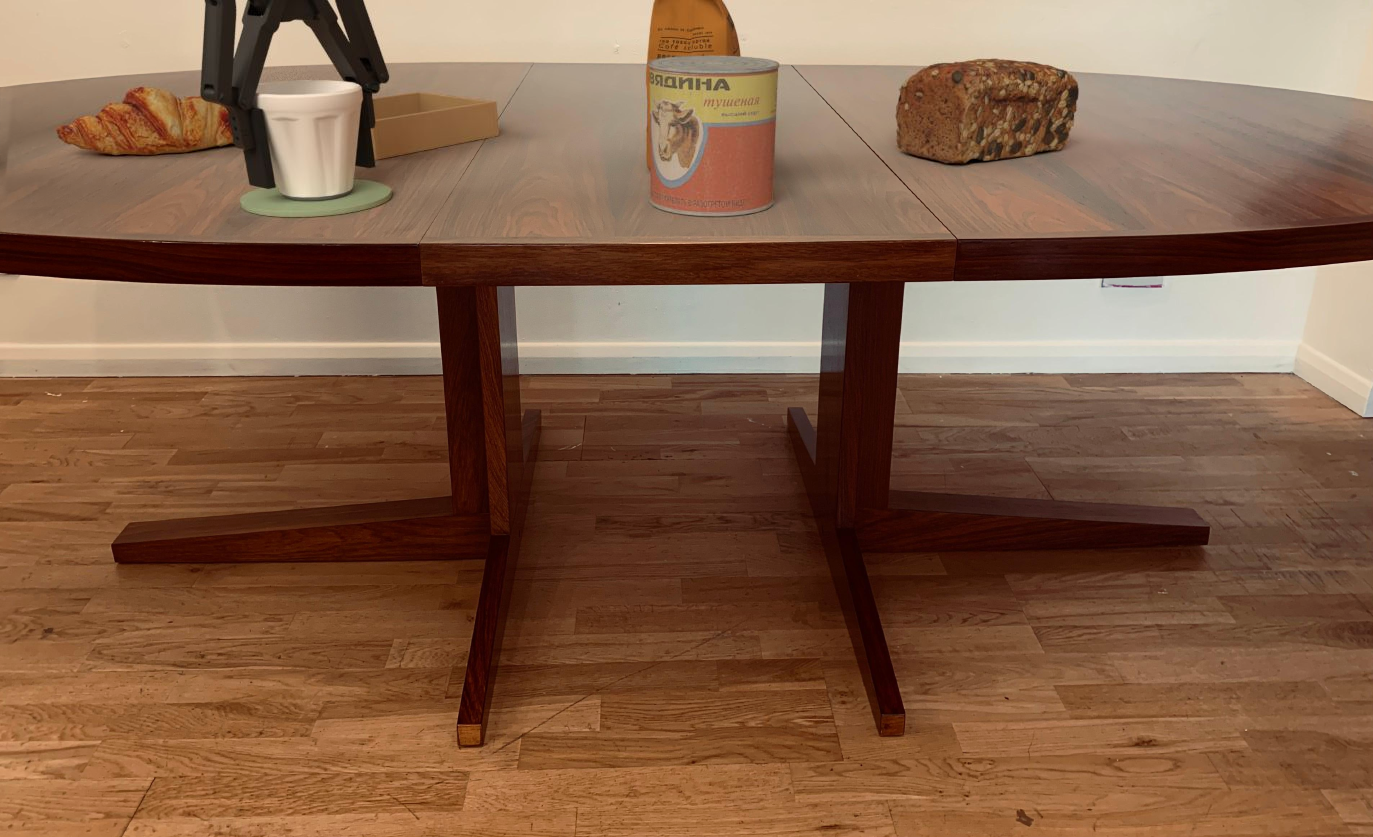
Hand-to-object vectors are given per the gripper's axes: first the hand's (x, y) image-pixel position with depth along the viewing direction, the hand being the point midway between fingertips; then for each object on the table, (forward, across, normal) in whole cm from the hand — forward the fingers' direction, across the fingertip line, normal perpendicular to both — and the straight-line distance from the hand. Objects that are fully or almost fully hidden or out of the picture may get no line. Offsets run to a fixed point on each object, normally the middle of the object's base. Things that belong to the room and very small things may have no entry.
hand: (315, 175), depth 91 cm
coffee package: (+2, +34, -18) cm, 39 cm away
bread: (+3, +59, -40) cm, 71 cm away
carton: (+2, +24, +17) cm, 30 cm away
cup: (+2, 0, 0) cm, 2 cm away
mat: (+2, 0, 0) cm, 2 cm away
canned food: (+2, +21, -29) cm, 36 cm away
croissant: (+2, +5, +33) cm, 34 cm away
